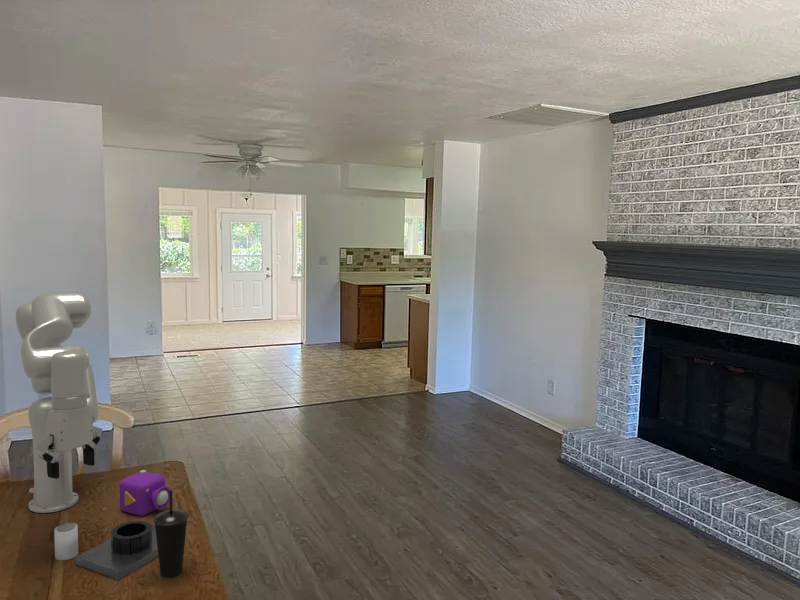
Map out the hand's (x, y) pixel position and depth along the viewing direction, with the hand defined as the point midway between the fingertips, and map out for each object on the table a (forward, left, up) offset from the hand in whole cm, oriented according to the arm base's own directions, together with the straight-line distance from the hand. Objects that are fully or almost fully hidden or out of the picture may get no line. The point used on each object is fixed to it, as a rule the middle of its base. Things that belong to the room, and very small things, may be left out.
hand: (71, 470), depth 147 cm
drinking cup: (+28, +4, -21) cm, 35 cm away
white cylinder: (0, -2, -21) cm, 21 cm away
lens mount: (+13, +6, -21) cm, 25 cm away
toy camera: (-2, +25, -21) cm, 33 cm away
